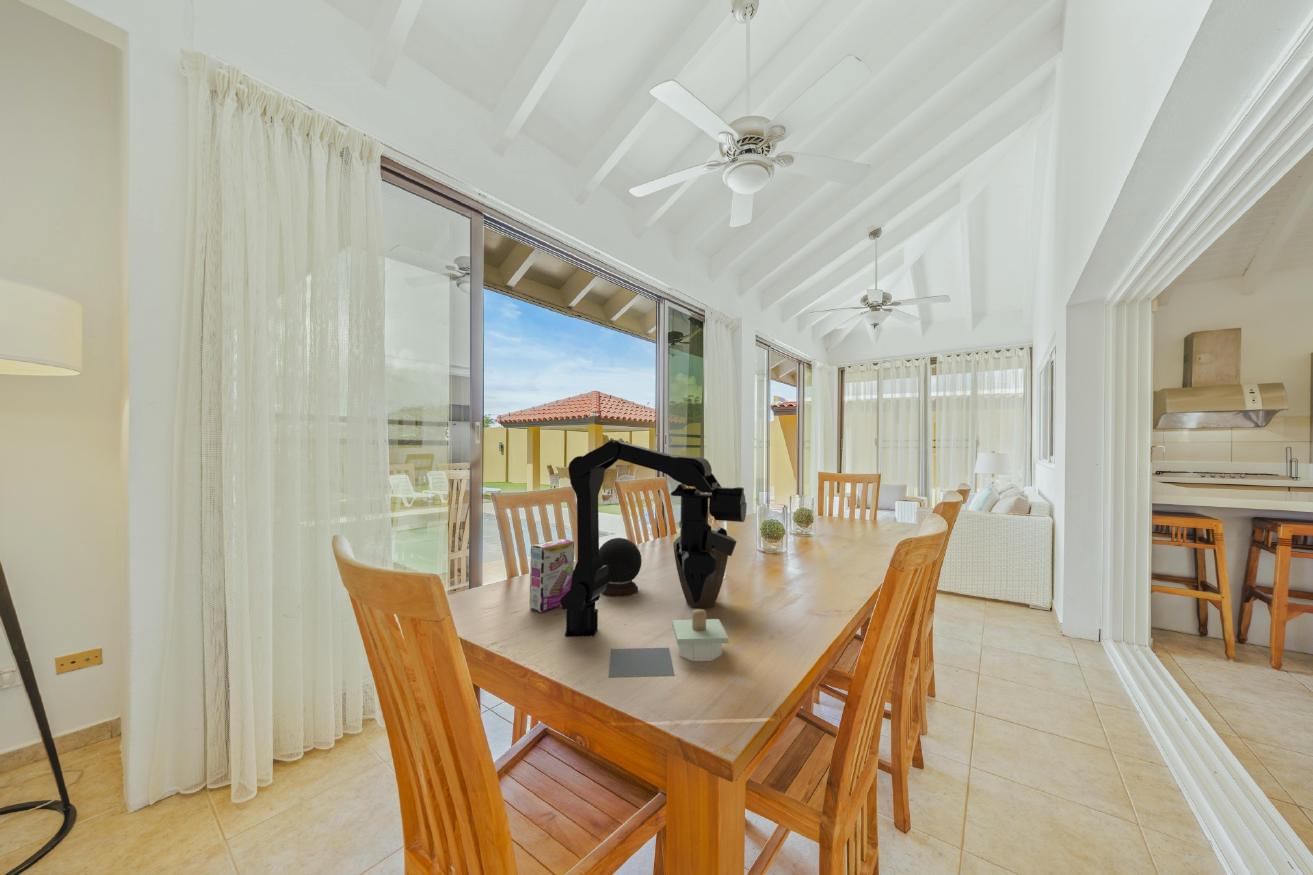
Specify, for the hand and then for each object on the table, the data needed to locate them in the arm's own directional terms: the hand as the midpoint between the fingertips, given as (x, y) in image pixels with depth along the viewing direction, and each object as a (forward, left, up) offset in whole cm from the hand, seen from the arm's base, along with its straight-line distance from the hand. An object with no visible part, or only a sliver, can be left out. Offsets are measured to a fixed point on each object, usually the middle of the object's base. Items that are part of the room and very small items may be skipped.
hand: (693, 594), depth 101 cm
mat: (-11, -5, -12) cm, 17 cm away
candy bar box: (-33, +29, -12) cm, 46 cm away
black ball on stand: (-16, +41, -12) cm, 46 cm away
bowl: (+1, -1, -12) cm, 12 cm away
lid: (+1, -1, -8) cm, 8 cm away
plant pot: (+6, +29, -12) cm, 32 cm away
